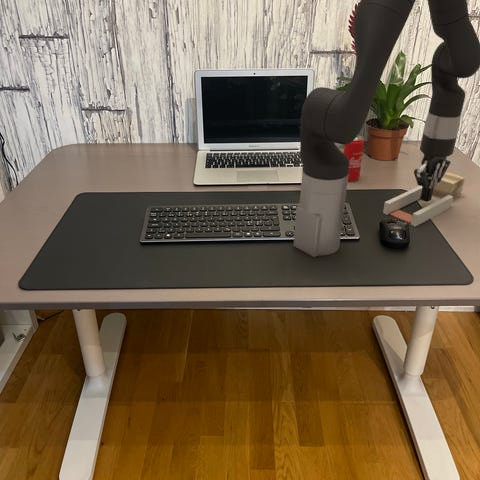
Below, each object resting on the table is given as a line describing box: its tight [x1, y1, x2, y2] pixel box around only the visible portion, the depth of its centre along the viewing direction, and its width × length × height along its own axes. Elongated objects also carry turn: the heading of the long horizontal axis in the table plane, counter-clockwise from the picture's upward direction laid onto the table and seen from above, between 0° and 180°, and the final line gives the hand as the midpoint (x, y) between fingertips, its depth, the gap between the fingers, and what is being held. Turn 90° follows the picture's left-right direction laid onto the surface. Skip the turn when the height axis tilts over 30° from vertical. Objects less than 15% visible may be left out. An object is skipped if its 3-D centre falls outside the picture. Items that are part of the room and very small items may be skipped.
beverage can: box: [343, 134, 365, 182], centre depth 137 cm, size 5×5×12 cm
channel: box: [382, 185, 454, 227], centre depth 122 cm, size 16×9×3 cm, turn 131°
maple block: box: [432, 171, 466, 200], centre depth 129 cm, size 6×5×5 cm
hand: (425, 200), depth 123 cm, fingers closed
